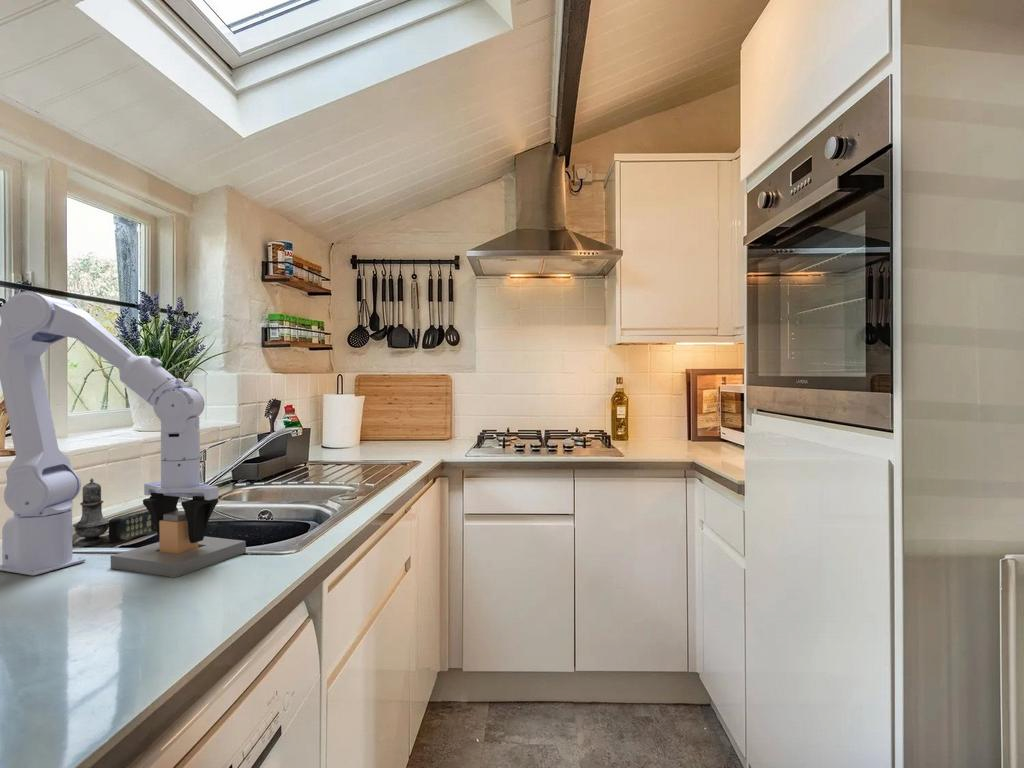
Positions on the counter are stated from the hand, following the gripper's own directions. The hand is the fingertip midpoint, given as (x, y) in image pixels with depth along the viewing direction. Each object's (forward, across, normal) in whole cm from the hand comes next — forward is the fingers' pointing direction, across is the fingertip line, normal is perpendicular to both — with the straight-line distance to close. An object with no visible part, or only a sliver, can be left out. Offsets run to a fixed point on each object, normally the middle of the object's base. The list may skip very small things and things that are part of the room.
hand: (181, 539), depth 98 cm
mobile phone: (+4, -22, +11) cm, 25 cm away
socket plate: (+3, 0, 0) cm, 3 cm away
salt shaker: (+4, -26, +3) cm, 26 cm away
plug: (+3, 0, 0) cm, 3 cm away
